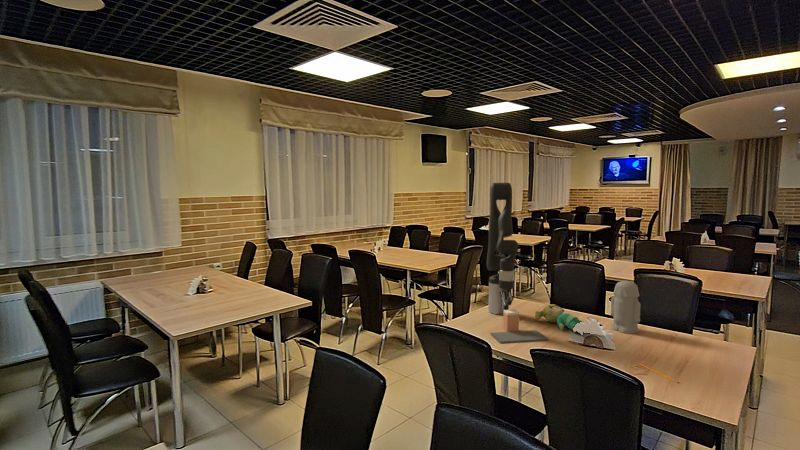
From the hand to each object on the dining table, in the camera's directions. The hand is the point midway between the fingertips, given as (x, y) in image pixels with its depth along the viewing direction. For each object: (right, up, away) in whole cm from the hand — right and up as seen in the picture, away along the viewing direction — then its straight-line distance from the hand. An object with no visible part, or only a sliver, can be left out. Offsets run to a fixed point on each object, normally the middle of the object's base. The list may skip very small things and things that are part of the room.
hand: (505, 312), depth 219 cm
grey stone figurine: (+59, -8, -4) cm, 59 cm away
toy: (+30, -8, +1) cm, 31 cm away
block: (+1, -8, -6) cm, 10 cm away
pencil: (+45, -13, -54) cm, 71 cm away
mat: (+3, -9, -15) cm, 18 cm away
